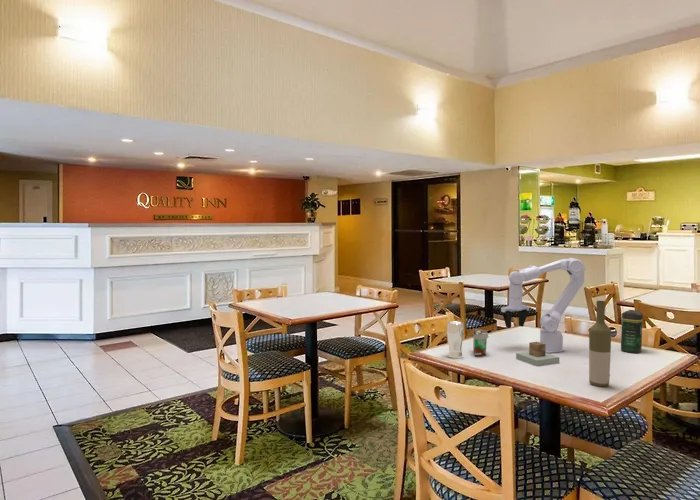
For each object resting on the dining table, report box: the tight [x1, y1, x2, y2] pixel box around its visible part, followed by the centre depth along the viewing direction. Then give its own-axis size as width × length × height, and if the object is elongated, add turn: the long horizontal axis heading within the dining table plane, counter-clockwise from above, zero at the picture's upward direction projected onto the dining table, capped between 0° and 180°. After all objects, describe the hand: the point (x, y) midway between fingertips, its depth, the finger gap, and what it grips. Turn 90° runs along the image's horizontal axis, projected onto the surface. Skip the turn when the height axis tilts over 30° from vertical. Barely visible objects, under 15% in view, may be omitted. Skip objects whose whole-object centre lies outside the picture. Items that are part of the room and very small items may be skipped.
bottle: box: [588, 300, 612, 387], centre depth 169 cm, size 7×7×30 cm
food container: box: [472, 328, 489, 358], centre depth 211 cm, size 12×6×10 cm, turn 168°
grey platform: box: [515, 351, 560, 367], centre depth 200 cm, size 12×12×3 cm
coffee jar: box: [620, 309, 644, 354], centre depth 215 cm, size 10×8×19 cm
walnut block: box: [528, 341, 546, 357], centre depth 200 cm, size 4×4×5 cm
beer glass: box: [446, 320, 464, 359], centre depth 206 cm, size 7×7×15 cm
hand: (514, 326), depth 219 cm, fingers open, 7 cm apart
